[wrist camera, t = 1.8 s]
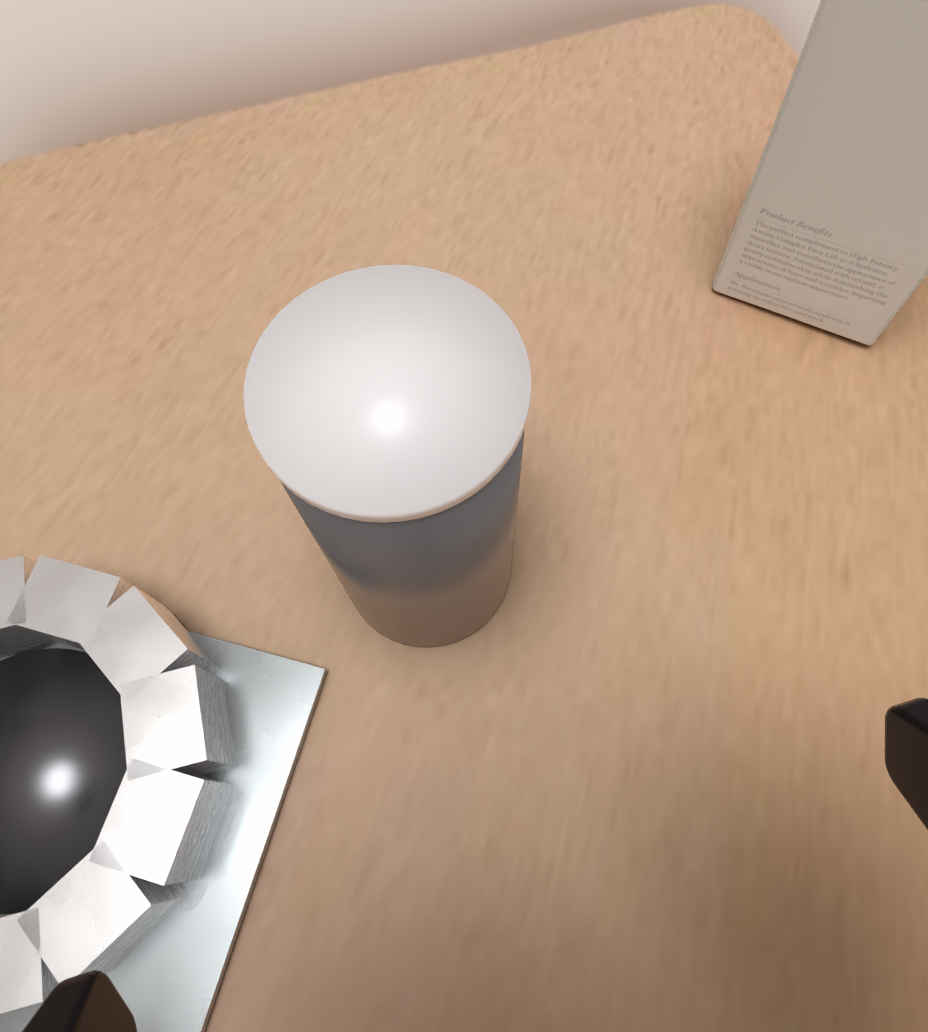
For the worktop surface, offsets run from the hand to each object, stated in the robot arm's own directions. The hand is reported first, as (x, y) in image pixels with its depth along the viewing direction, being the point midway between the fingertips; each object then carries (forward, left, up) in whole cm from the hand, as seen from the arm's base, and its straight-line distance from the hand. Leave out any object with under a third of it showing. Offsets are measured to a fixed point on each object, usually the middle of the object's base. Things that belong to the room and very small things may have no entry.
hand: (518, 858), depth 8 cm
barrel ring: (+14, +3, -14) cm, 20 cm away
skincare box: (-6, -21, -14) cm, 26 cm away
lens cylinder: (+4, -7, -14) cm, 16 cm away
